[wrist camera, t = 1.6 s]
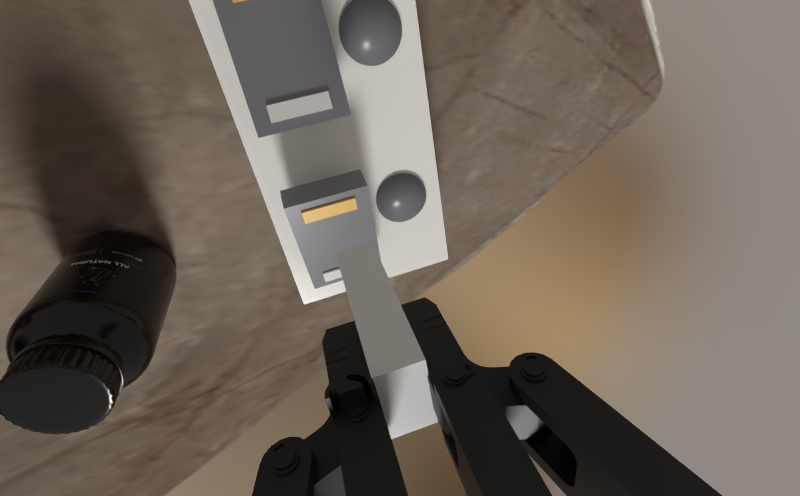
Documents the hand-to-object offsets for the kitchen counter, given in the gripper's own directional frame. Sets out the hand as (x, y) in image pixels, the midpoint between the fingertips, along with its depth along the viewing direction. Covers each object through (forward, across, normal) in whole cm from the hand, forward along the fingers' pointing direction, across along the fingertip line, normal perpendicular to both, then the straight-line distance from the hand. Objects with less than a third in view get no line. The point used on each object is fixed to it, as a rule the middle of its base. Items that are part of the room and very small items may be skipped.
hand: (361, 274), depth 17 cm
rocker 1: (+9, 0, +8) cm, 12 cm away
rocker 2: (+9, 0, -2) cm, 10 cm away
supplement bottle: (+16, -16, -4) cm, 23 cm away
